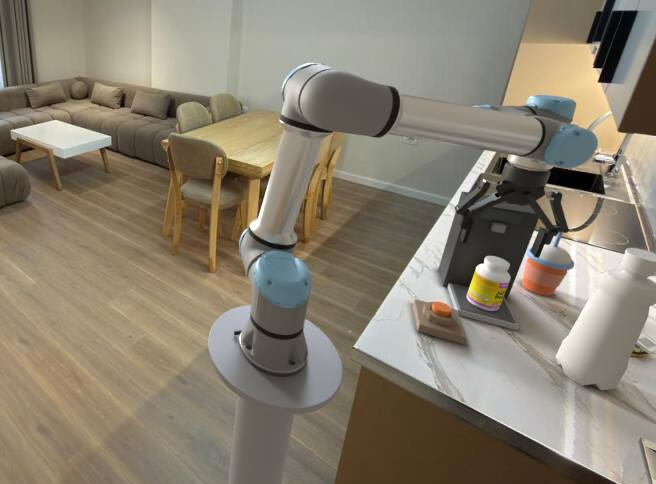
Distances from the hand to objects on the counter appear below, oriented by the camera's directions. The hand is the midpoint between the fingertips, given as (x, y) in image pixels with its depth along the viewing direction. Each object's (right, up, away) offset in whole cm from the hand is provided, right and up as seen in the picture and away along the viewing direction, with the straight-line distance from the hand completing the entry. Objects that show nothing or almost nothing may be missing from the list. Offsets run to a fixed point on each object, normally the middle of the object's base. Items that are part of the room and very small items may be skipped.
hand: (497, 247), depth 95 cm
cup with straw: (+23, -15, +14) cm, 31 cm away
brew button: (-13, -16, +1) cm, 21 cm away
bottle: (+7, -25, -12) cm, 28 cm away
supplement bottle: (+2, -16, +6) cm, 17 cm away
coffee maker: (+4, -16, +11) cm, 20 cm away
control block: (-13, -19, +2) cm, 24 cm away
